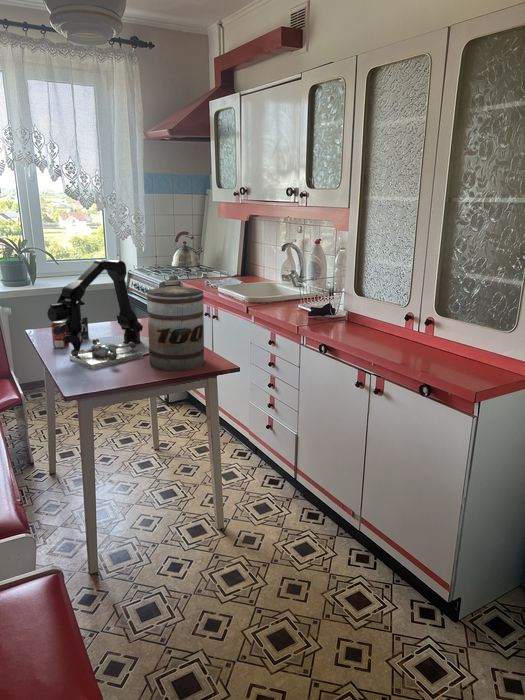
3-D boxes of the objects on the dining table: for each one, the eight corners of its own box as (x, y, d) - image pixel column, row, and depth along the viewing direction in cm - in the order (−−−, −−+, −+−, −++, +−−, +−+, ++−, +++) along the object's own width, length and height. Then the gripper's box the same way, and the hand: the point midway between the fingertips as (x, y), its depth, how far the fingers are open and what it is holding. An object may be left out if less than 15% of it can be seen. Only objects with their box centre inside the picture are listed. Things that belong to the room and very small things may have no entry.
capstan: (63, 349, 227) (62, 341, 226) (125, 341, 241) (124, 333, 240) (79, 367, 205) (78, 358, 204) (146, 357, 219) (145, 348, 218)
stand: (119, 348, 238) (119, 343, 238) (142, 357, 227) (142, 351, 226) (69, 359, 222) (69, 353, 221) (92, 369, 210) (91, 363, 209)
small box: (89, 337, 254) (88, 316, 251) (78, 340, 248) (77, 319, 245) (75, 334, 259) (73, 313, 256) (64, 337, 254) (62, 315, 251)
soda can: (64, 349, 234) (61, 323, 231) (50, 348, 236) (47, 322, 232) (72, 345, 241) (70, 319, 237) (58, 344, 242) (56, 318, 238)
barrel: (181, 375, 206) (180, 299, 197) (138, 365, 216) (134, 293, 208) (214, 360, 225) (214, 290, 216) (172, 351, 235) (171, 285, 226)
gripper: (58, 312, 224) (61, 347, 228) (48, 323, 206) (52, 361, 211) (85, 311, 225) (88, 346, 230) (78, 322, 208) (81, 360, 213)
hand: (77, 353), depth 221 cm, fingers closed
